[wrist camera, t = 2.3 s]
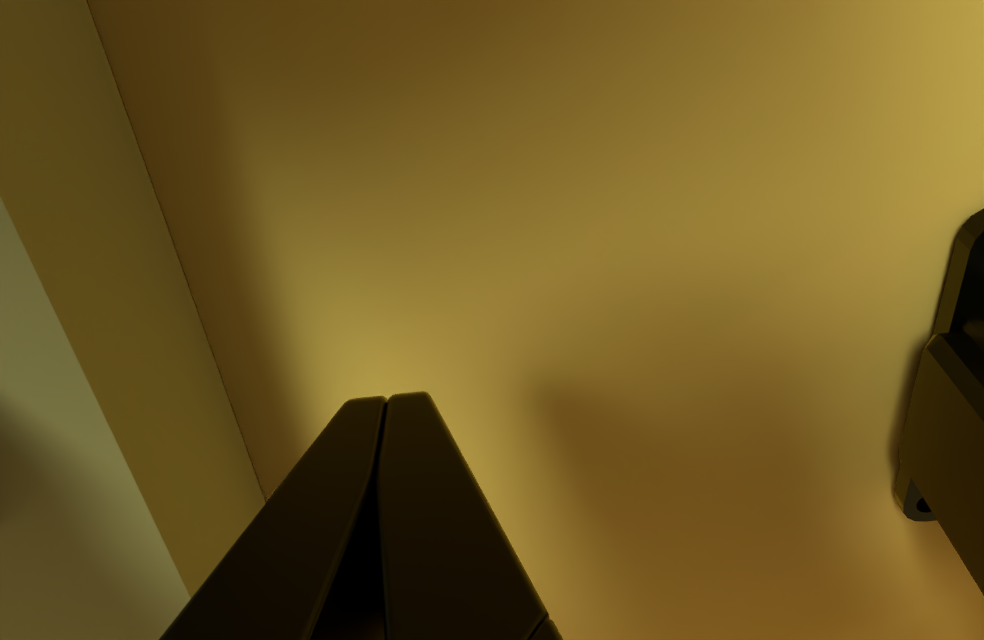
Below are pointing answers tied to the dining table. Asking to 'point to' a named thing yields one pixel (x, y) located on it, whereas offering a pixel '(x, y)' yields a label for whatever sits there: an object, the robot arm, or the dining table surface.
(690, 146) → the dining table surface
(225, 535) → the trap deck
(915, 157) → the dining table surface
